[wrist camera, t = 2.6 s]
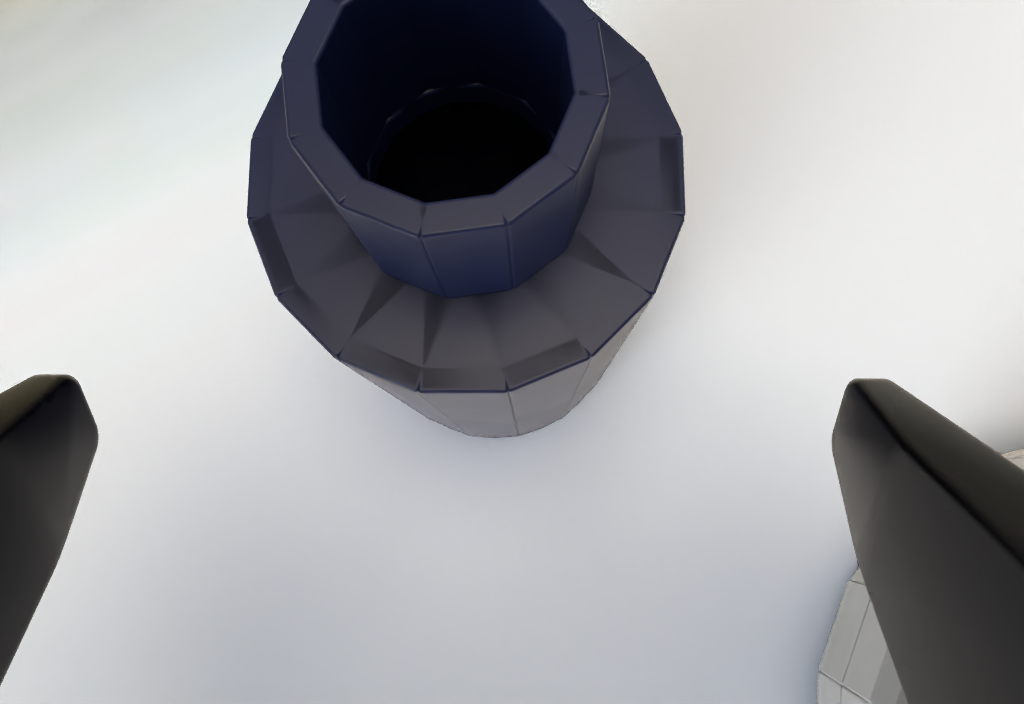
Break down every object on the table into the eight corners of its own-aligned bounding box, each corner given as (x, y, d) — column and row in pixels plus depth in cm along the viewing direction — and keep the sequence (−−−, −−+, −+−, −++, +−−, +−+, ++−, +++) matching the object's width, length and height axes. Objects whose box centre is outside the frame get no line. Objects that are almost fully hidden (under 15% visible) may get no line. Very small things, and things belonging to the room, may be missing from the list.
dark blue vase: (559, 474, 19) (607, 456, 7) (345, 384, 19) (58, 230, 8) (644, 262, 20) (813, -70, 8) (437, 181, 20) (304, -247, 8)
